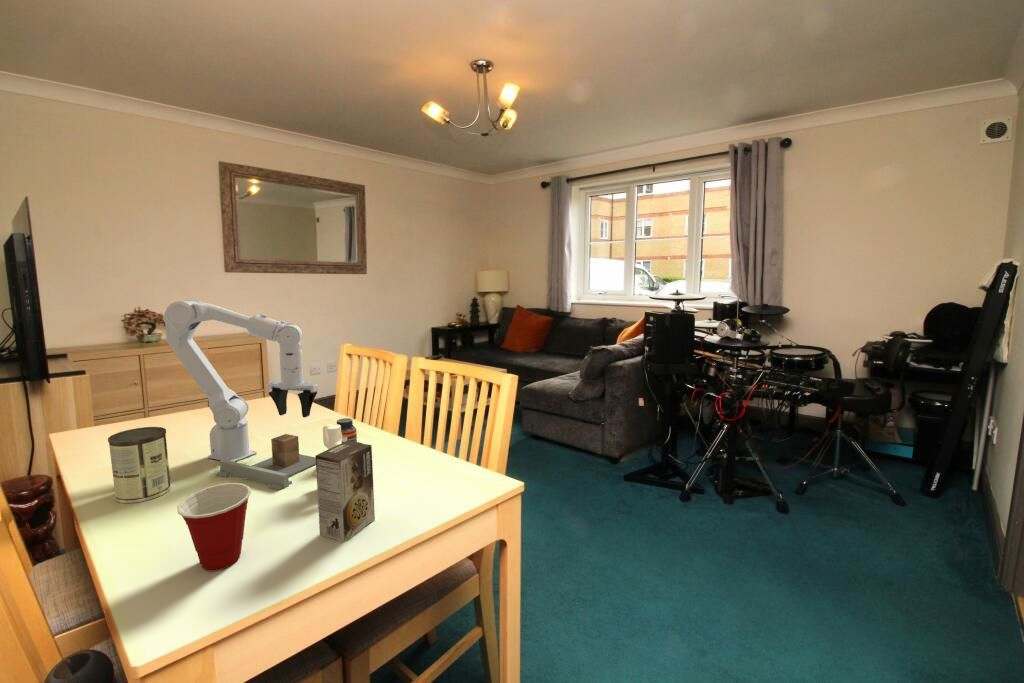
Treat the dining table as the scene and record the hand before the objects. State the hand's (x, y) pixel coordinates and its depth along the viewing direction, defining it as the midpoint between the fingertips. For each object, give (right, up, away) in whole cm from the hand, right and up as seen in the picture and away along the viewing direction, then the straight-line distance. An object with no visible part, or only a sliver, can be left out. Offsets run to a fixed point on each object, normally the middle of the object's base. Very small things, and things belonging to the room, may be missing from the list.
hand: (294, 415), depth 135 cm
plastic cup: (+11, -18, -52) cm, 56 cm away
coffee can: (-23, -14, -26) cm, 37 cm away
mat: (+2, -12, -9) cm, 15 cm away
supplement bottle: (+16, -12, -6) cm, 21 cm away
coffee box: (+29, -16, -40) cm, 52 cm away
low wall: (-2, -13, -18) cm, 22 cm away
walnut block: (+2, -11, -9) cm, 14 cm away
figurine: (+20, -14, -22) cm, 33 cm away
